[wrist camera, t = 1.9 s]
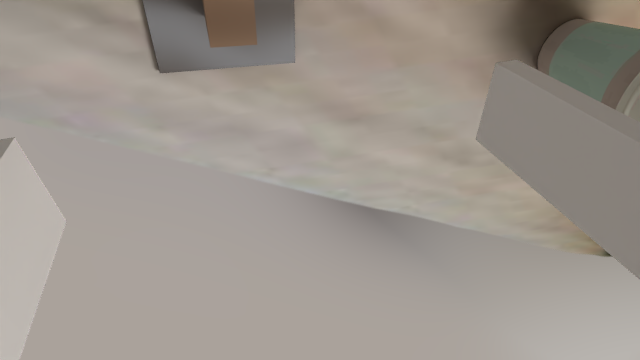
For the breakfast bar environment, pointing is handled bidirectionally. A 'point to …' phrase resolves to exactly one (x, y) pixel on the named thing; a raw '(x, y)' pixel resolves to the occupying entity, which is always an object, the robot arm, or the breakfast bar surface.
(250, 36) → the grey square base stand
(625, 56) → the coffee cup
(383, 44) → the breakfast bar surface
